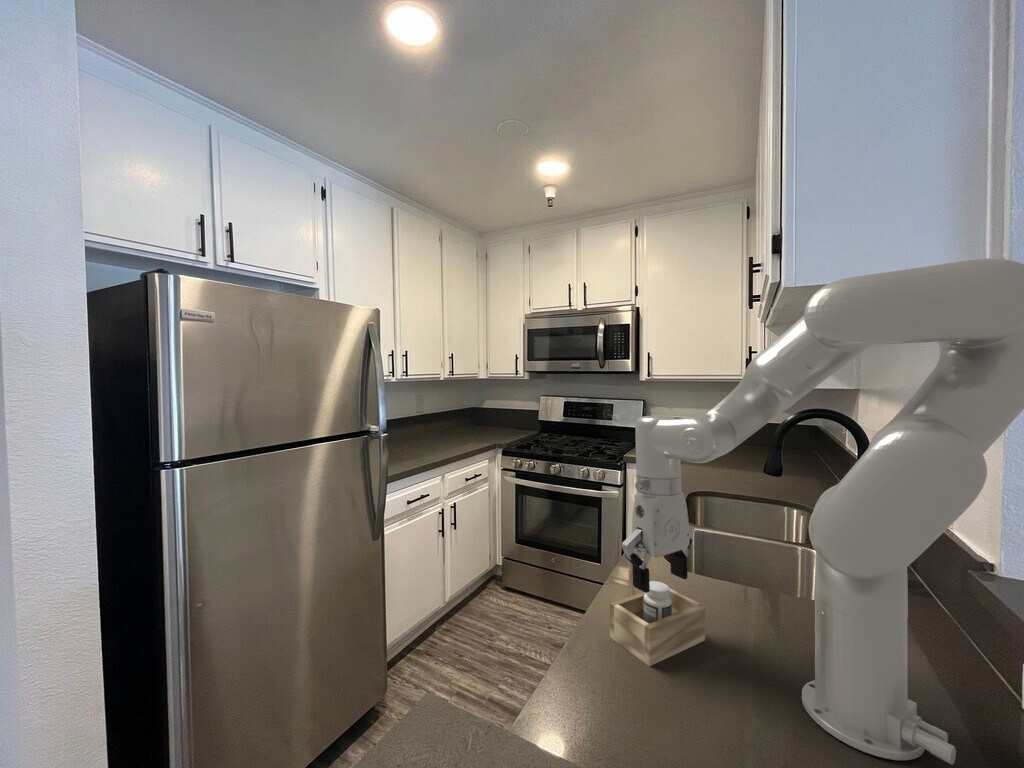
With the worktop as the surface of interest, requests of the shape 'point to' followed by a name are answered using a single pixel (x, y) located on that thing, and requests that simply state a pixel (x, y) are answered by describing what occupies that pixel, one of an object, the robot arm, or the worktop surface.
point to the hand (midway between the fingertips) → (660, 582)
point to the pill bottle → (657, 602)
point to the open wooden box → (657, 627)
